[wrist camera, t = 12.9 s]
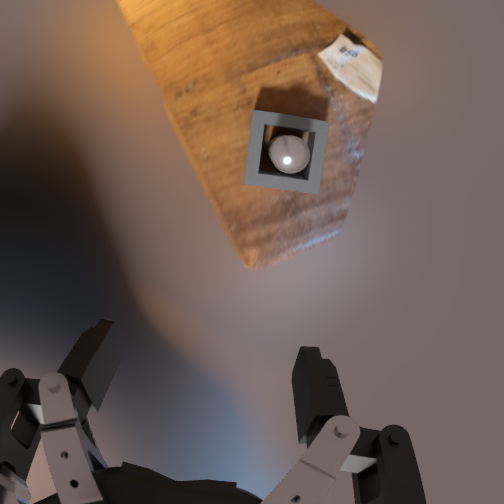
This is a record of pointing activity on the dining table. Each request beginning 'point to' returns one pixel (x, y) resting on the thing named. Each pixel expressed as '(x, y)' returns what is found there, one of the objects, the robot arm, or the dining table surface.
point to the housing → (278, 179)
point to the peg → (289, 153)
